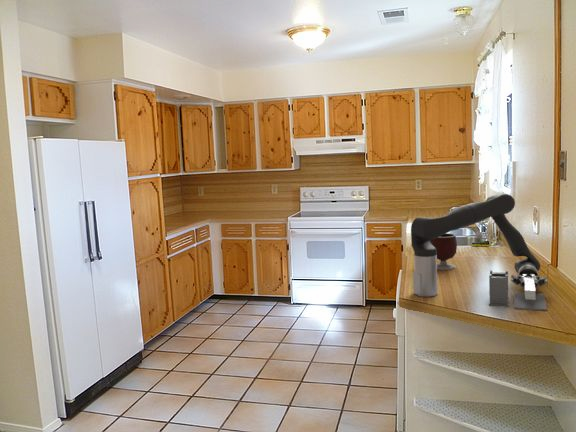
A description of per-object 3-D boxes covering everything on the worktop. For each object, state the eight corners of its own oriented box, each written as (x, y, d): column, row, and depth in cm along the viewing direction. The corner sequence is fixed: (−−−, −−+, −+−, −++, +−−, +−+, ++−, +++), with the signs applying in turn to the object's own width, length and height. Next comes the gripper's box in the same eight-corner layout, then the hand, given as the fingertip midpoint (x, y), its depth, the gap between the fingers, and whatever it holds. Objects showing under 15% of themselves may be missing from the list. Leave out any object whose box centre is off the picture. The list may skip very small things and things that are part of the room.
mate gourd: (438, 263, 272) (437, 227, 270) (462, 266, 262) (461, 228, 260) (423, 268, 261) (422, 231, 259) (447, 271, 251) (446, 232, 249)
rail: (524, 285, 204) (524, 277, 203) (533, 286, 202) (533, 277, 202) (525, 299, 188) (525, 290, 187) (535, 299, 186) (535, 290, 186)
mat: (514, 293, 206) (514, 292, 206) (543, 295, 202) (543, 294, 202) (514, 308, 187) (514, 307, 187) (547, 310, 183) (547, 309, 183)
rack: (490, 297, 203) (489, 269, 202) (508, 299, 200) (508, 270, 199) (488, 305, 193) (488, 275, 192) (508, 306, 190) (508, 276, 189)
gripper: (510, 265, 215) (509, 274, 199) (546, 266, 209) (549, 276, 193) (510, 282, 216) (510, 293, 200) (546, 283, 210) (549, 295, 194)
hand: (529, 284), depth 197 cm, fingers closed on rail, 3 cm apart
